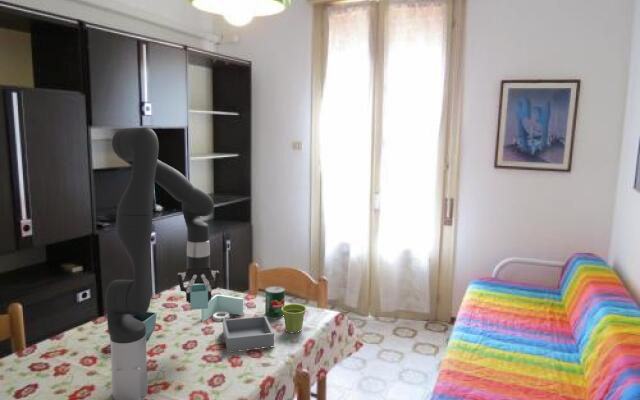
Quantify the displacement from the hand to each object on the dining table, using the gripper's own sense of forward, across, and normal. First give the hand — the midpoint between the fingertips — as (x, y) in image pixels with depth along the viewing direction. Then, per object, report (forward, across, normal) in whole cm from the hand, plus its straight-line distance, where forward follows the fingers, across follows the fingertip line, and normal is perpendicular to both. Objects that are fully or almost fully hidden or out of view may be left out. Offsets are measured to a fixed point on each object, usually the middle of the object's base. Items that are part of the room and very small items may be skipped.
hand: (198, 301), depth 156 cm
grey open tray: (+17, +17, +2) cm, 24 cm away
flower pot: (+17, -20, +11) cm, 28 cm away
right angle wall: (+17, +10, +24) cm, 31 cm away
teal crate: (+1, 0, 0) cm, 1 cm away
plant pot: (+17, +35, +6) cm, 39 cm away
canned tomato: (+17, +31, +22) cm, 42 cm away
